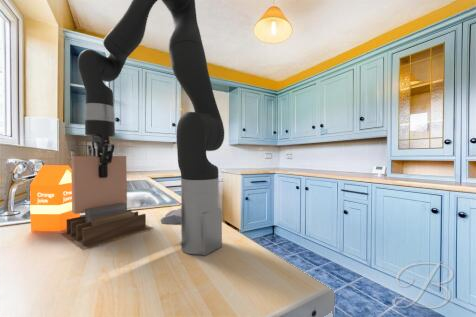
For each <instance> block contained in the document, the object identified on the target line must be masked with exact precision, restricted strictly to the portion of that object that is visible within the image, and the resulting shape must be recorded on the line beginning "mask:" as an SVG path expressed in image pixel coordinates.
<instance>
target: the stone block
mask: <svg viewBox="0 0 476 317" xmlns="http://www.w3.org/2000/svg"><path fill="white" fill-rule="evenodd" d="M160 222H161V224H162V225H181V208H177V209H173V210H171V211H169V212H167V213H166V214H165V215H164V217H161V219H160Z"/></svg>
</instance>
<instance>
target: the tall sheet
mask: <svg viewBox="0 0 476 317" xmlns="http://www.w3.org/2000/svg"><path fill="white" fill-rule="evenodd" d="M70 159H71V160H70V166H71V167H70V168H71V182H72V213H73V214H79V213H80V214H82V213H83V214H85V209H89V208H94V207H100V206H105V205H111V204H117V203H126V204H127V205H128V197H127V196H128V192H127V190H128V186H127V184H128V182H127V156H126V155H113V156H112V161H111V163H109V165H107V167H108V176H107V177H106V178H99V169H98V166H100V165H98V158H97V157H96V156H90V155H87V156H86V155H84V156H83V155H82V156H81V155H80V156H79V155H77V156H75V155H74V156H70Z"/></svg>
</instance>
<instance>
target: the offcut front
mask: <svg viewBox="0 0 476 317" xmlns="http://www.w3.org/2000/svg"><path fill="white" fill-rule="evenodd" d="M134 212H135V211H132V210H131V211H126V212H122V213H117V214H112V215H108V216H103V217H98V218H94V219H91V226H95V225H100V224H104V223H108V222H112V221H116V220H120V219H125V218H129V217H133V216H134Z"/></svg>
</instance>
